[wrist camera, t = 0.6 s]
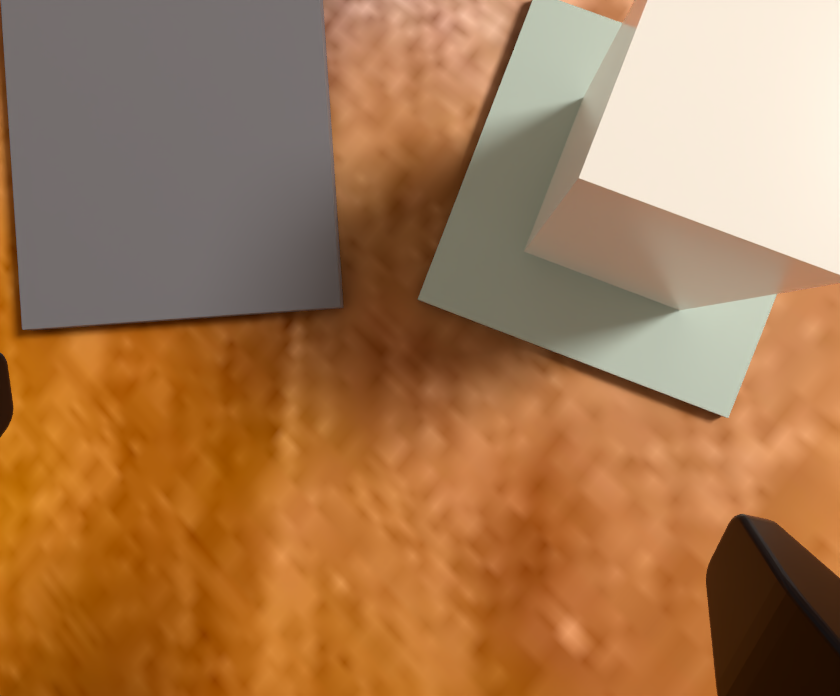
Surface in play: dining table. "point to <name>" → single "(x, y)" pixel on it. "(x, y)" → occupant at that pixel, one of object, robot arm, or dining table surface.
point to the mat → (170, 159)
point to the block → (705, 155)
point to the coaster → (556, 285)
